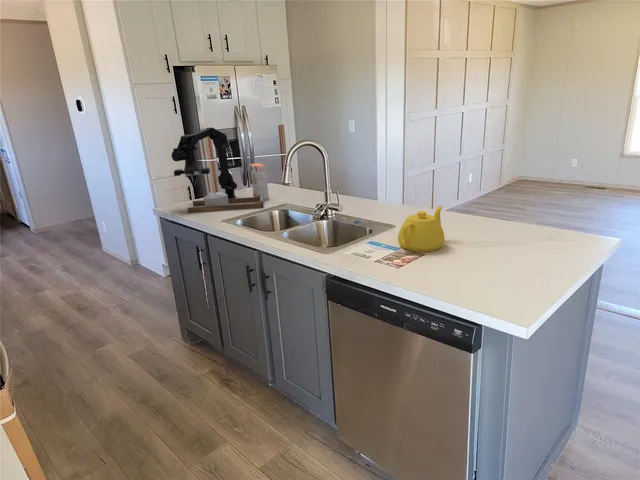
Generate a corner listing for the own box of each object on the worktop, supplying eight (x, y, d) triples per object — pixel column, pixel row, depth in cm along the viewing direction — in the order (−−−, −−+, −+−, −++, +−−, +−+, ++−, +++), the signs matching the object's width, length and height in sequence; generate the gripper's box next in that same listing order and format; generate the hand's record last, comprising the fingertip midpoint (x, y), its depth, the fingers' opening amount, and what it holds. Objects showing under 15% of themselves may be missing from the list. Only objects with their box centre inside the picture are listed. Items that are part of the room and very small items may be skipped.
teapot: (422, 233, 183) (423, 202, 179) (460, 242, 170) (462, 208, 166) (384, 248, 168) (384, 214, 163) (422, 258, 155) (423, 222, 151)
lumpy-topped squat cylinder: (231, 206, 246) (229, 192, 243) (211, 211, 237) (209, 196, 234) (220, 204, 253) (218, 190, 250) (201, 209, 244) (199, 194, 241)
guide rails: (193, 206, 252) (192, 199, 250) (263, 201, 255) (263, 194, 254) (188, 213, 236) (187, 206, 235) (263, 208, 239) (262, 201, 238)
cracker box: (252, 197, 268) (249, 163, 261) (262, 196, 270) (259, 162, 263) (259, 201, 255) (256, 166, 249) (269, 200, 258) (266, 165, 251)
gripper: (169, 162, 227) (174, 191, 232) (205, 159, 228) (209, 188, 233) (174, 159, 237) (178, 187, 242) (208, 157, 239) (211, 184, 244)
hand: (194, 187), depth 240 cm, fingers closed
